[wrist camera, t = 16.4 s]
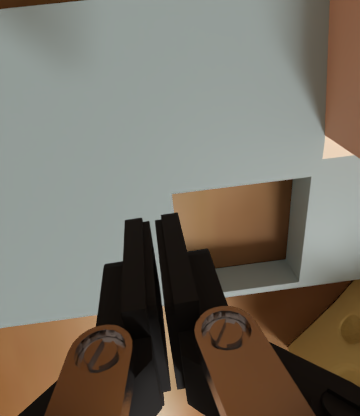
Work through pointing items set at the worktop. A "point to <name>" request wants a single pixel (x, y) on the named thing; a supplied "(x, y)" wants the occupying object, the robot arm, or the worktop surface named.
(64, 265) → the trap deck
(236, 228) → the worktop surface
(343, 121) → the block
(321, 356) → the cheese
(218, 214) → the worktop surface
